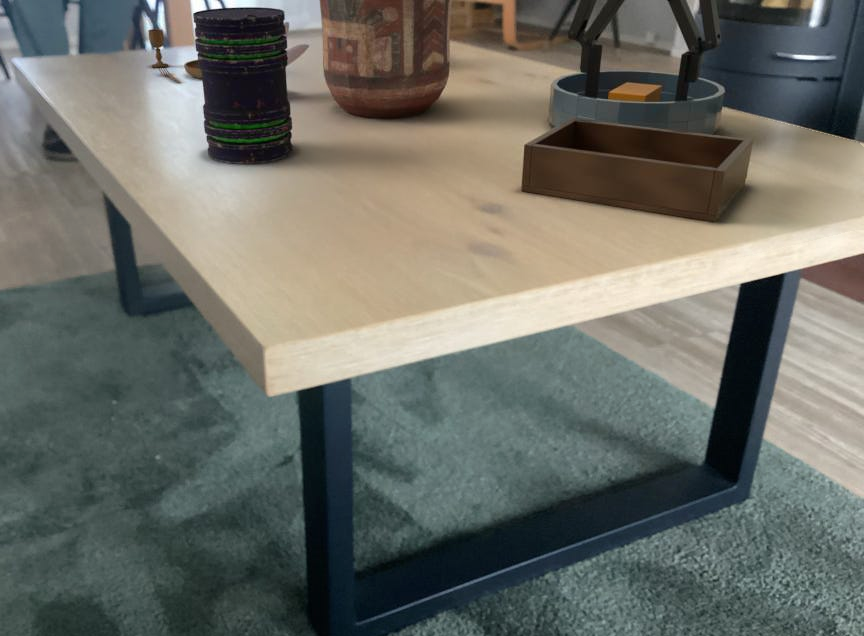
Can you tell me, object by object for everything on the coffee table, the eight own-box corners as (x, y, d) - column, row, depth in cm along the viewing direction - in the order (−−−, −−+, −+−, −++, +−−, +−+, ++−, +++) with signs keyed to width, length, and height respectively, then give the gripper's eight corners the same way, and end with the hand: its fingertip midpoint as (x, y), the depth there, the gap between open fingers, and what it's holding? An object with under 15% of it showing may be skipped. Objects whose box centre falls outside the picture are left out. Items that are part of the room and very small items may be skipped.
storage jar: (193, 149, 100) (177, 11, 93) (269, 137, 105) (260, 5, 98) (229, 169, 93) (215, 21, 86) (309, 155, 98) (302, 13, 90)
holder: (744, 185, 86) (753, 139, 84) (715, 222, 76) (724, 171, 74) (567, 160, 94) (571, 118, 92) (520, 191, 85) (524, 144, 83)
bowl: (733, 119, 111) (741, 78, 108) (693, 156, 96) (701, 110, 93) (581, 102, 120) (585, 65, 118) (522, 134, 105) (525, 92, 103)
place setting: (178, 85, 134) (173, 45, 131) (146, 66, 150) (141, 30, 147) (283, 75, 141) (281, 36, 138) (242, 57, 157) (240, 22, 154)
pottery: (433, 127, 108) (435, -30, 100) (303, 119, 113) (295, -32, 105) (464, 99, 123) (469, -40, 115) (348, 92, 128) (345, -41, 119)
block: (657, 118, 109) (662, 85, 107) (641, 129, 104) (645, 95, 102) (622, 114, 111) (626, 82, 109) (605, 125, 106) (608, 92, 104)
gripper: (549, -97, 99) (535, 101, 109) (761, -98, 88) (723, 121, 98) (572, -98, 104) (557, 90, 115) (774, -99, 94) (737, 108, 104)
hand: (633, 104), depth 107 cm, fingers open, 10 cm apart
